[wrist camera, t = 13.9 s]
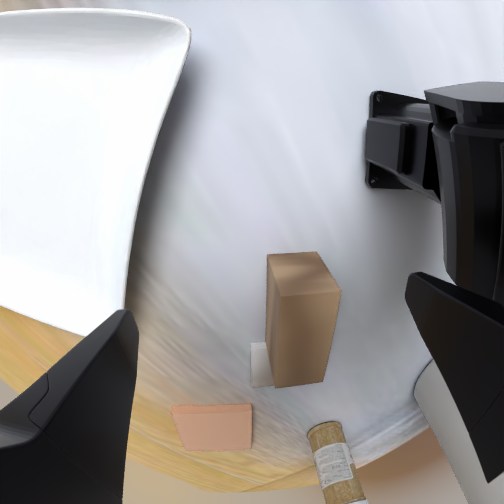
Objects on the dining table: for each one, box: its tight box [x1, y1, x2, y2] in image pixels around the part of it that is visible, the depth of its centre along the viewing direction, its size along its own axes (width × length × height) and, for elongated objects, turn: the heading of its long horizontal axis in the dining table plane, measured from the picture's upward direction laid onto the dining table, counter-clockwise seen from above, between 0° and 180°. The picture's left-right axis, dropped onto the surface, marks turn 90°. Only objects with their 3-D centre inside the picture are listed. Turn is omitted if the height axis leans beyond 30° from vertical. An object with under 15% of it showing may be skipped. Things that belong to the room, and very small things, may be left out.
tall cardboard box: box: [250, 252, 341, 388], centre depth 22 cm, size 6×13×5 cm, turn 0°
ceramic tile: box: [171, 403, 252, 451], centre depth 30 cm, size 8×2×9 cm
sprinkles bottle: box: [307, 422, 369, 504], centre depth 27 cm, size 5×5×13 cm
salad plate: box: [0, 8, 191, 337], centre depth 14 cm, size 21×21×3 cm
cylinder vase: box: [414, 359, 504, 504], centre depth 20 cm, size 12×12×25 cm
